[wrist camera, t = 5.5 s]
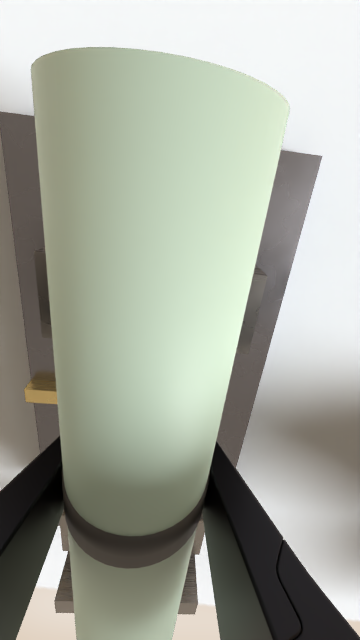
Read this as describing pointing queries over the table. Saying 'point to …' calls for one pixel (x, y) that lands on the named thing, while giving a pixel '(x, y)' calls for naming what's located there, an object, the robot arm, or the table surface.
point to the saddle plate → (257, 324)
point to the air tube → (145, 304)
